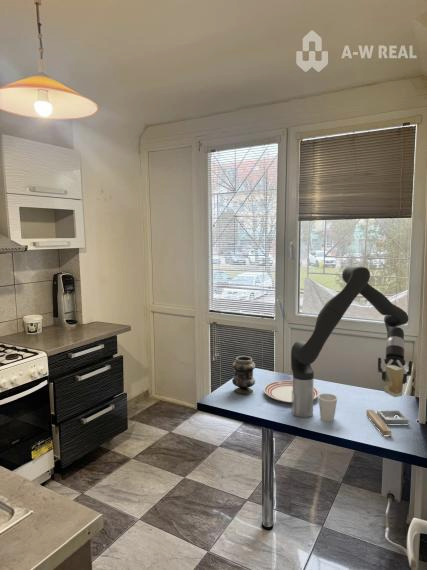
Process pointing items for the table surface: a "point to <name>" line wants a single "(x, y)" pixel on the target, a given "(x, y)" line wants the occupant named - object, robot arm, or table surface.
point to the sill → (378, 422)
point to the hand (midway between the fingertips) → (394, 382)
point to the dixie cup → (327, 406)
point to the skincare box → (394, 380)
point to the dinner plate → (283, 391)
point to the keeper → (392, 417)
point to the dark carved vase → (243, 375)
